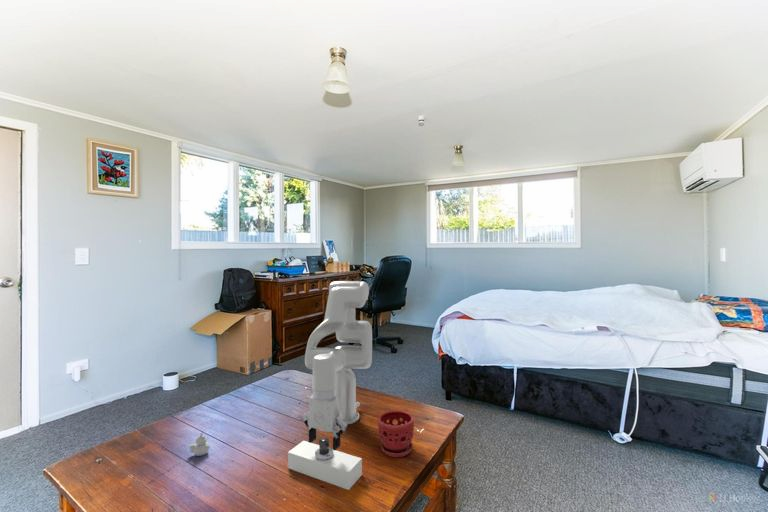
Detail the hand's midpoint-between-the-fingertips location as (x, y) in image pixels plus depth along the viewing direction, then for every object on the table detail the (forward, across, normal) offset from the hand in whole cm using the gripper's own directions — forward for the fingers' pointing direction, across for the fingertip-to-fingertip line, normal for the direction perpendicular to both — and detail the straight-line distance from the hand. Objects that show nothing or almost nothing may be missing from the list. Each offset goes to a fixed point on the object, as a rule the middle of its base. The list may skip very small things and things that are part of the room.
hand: (324, 444), depth 114 cm
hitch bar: (+9, 0, 0) cm, 9 cm away
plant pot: (+9, +16, +22) cm, 29 cm away
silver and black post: (+9, 0, 0) cm, 9 cm away
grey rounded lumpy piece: (+9, -46, -12) cm, 48 cm away
